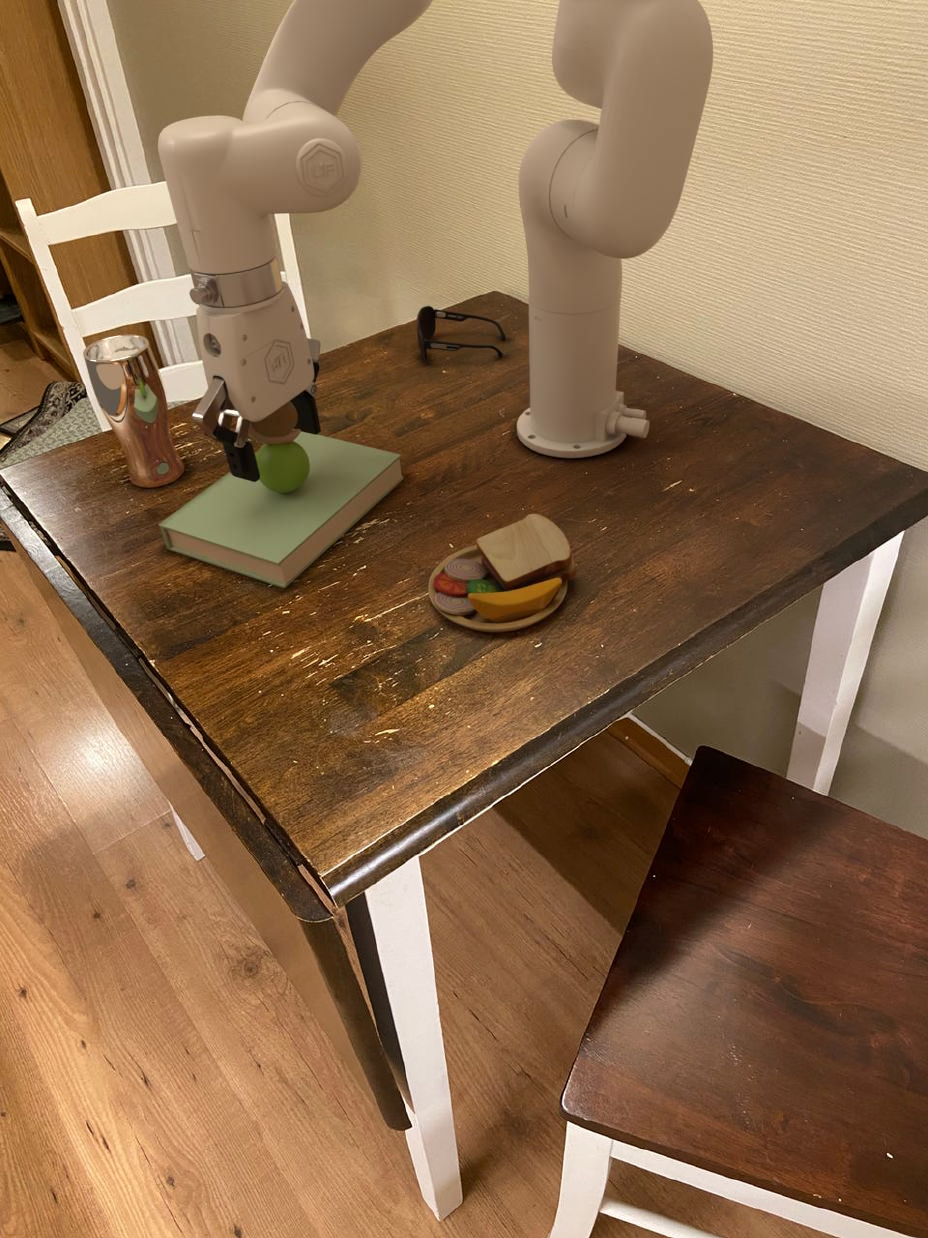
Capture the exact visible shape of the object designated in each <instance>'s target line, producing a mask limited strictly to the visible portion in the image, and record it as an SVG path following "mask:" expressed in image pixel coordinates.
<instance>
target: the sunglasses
mask: <svg viewBox="0 0 928 1238" xmlns="http://www.w3.org/2000/svg"><path fill="white" fill-rule="evenodd" d="M436 319H442V320H448V321H453V322H454V321H455V322H464V321H466V320H468V319H474V320H479V321H480V320H481V321H485V322H488V323H492V324H493V325H495V326H496V327H497V329H498V330H499V333H500V338H501V340H503V341H505V340H506V334H505V332H504V330H503V328H502V327H501V325H500V324H499V323H498V322H497V321H495V320H494V319H492V318H488V317H485V316H479V315H474V314H467V313H460V312H454V311H448V310H441V309H438V308H437V309H436V308H434V307H432V306H430V305H425V306H422V307H421V308H420V309H419V311H418V313H417V316H416V330H417V331H416V332H417V343H418V347H419V351H420V354H421V357H422V360H423V361H427V360H428V352H427V350H438V351H449V352H457V351H458V350H460V349H463V348H468V349H492V350H494V351H495V352H496V353H497V357H498V358H500V359H501V358H502V357H503V356H504V354H503V352H502V351H501V350H499V348H498V347H496V346H494V345H491V344H467V343H461V342H460V343H459V342H451V341H441V340H432V338H433V337H434V336H435V333H436V321H437V320H436Z"/></svg>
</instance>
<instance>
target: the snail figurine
mask: <svg viewBox="0 0 928 1238" xmlns="http://www.w3.org/2000/svg"><path fill="white" fill-rule="evenodd" d="M235 410H236V409H235ZM236 419H237V420H238V418H236ZM297 420H298V416H297V411H296V409H295V407H294V405H293V404H292V403H291V402H290V401H289V402H287V403H286V404H285V405H283V406H282V407H280V408H279V409H277V410H276V411H275V412H273V413H272V414H270V415H269V416H267V417H266V418H264V419H263V420H260V421H257V422H252V421H251V424H250V428H249V432H248V436H249V438H250V439H252V440H254V441H256V442H259V443H262V444H263V445H261V446H260V448H258V451H256V452H257V454H256V461H257V465H258V469H259V473H260V479H259V480H260V482H261V483H262V484H263V485H264V486H265V487H266V488H268V489H269V490H271V491H274V492H278V493H289V492H292V491H295V490H297V489H298V488H300V487H301V486H302V485H303V484H304V483H305V481H306V479H307V477H308V475H309V471H310V462H309V458H308V455H307V453H306V452H305V450H304V449H303V448H302V447H301V446H300V445H299V444H298V443H296V442H295V441H293V440H295V439H296V438H297V436H298V435H299V434H300V432H301V430H300V429H294V427H295V426H296V424H297ZM293 429H294V430H293Z"/></svg>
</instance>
